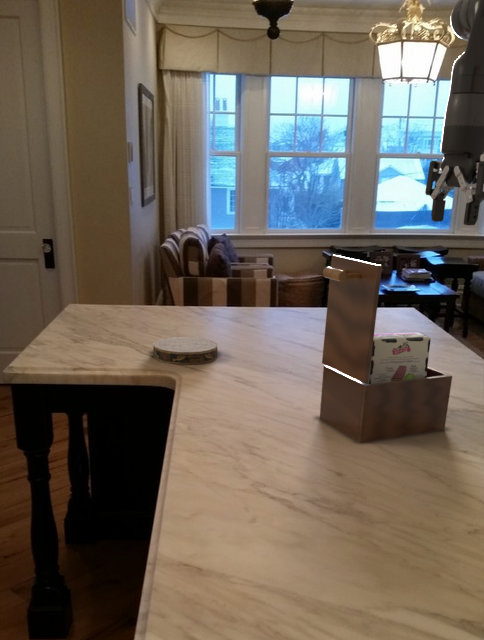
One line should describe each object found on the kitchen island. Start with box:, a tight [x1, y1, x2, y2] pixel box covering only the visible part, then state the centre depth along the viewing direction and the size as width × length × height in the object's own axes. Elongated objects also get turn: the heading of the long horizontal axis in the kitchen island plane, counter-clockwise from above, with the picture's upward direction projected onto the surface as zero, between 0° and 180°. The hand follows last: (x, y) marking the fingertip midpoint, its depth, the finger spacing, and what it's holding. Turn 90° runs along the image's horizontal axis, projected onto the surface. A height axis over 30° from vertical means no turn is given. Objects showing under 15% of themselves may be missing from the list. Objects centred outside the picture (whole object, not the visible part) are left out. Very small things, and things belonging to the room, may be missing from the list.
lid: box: [321, 254, 383, 384], centre depth 120 cm, size 19×14×5 cm
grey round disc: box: [152, 336, 218, 365], centre depth 175 cm, size 16×16×3 cm
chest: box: [319, 365, 453, 444], centre depth 130 cm, size 19×14×11 cm
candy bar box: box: [366, 332, 432, 384], centre depth 129 cm, size 11×5×16 cm, turn 103°
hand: (452, 223), depth 127 cm, fingers open, 8 cm apart
